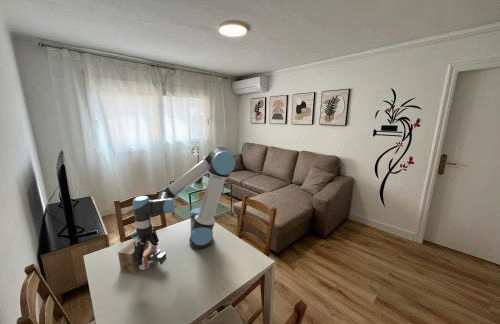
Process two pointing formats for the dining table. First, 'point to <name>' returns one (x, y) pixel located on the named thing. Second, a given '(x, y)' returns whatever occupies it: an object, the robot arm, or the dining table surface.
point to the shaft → (157, 257)
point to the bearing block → (129, 257)
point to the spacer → (146, 254)
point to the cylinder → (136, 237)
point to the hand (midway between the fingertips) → (148, 262)
